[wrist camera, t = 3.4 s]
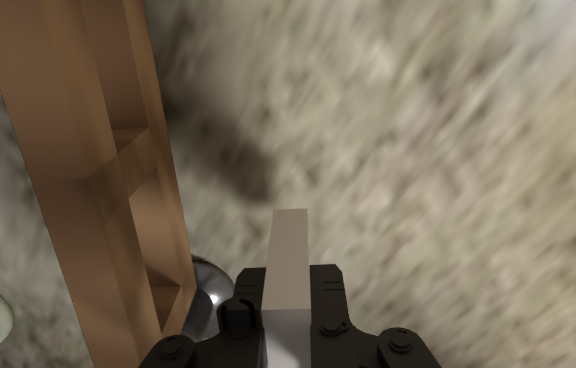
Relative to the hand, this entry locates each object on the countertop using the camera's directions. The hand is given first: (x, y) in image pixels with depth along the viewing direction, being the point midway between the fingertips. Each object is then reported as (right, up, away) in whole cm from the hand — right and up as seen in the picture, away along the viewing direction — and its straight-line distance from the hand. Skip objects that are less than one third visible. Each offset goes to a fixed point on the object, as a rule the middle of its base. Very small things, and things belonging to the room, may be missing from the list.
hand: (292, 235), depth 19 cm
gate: (-6, +5, -1) cm, 8 cm away
